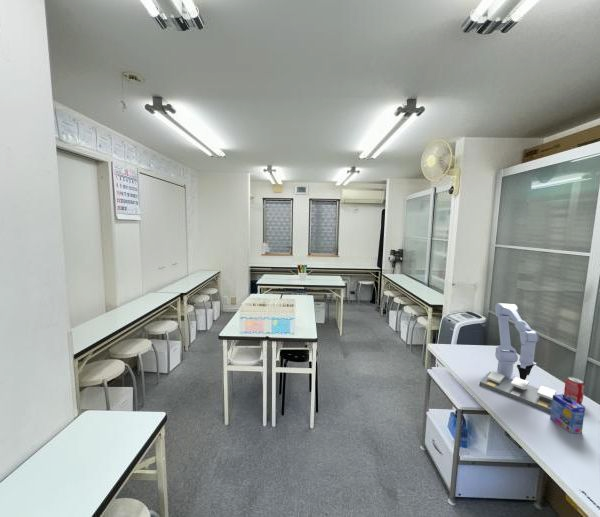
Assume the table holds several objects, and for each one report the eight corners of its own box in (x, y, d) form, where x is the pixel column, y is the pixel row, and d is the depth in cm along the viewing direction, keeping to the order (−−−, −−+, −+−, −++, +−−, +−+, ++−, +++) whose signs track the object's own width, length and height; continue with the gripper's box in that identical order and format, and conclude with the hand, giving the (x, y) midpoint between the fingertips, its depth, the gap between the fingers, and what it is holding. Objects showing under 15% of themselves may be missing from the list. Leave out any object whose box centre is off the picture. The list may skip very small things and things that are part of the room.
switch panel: (489, 374, 167) (490, 370, 167) (560, 400, 143) (561, 396, 143) (479, 384, 156) (480, 380, 156) (555, 415, 132) (555, 410, 131)
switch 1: (492, 373, 164) (492, 371, 163) (504, 377, 159) (504, 375, 159) (487, 378, 157) (487, 376, 157) (499, 383, 153) (499, 381, 152)
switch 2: (515, 378, 155) (515, 376, 155) (528, 383, 150) (529, 381, 150) (510, 384, 149) (511, 382, 148) (524, 389, 144) (524, 387, 144)
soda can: (576, 398, 145) (579, 377, 143) (585, 407, 138) (588, 384, 137) (560, 395, 147) (563, 374, 146) (567, 403, 140) (571, 381, 139)
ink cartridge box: (548, 418, 129) (552, 389, 128) (559, 417, 130) (563, 389, 128) (571, 433, 120) (575, 403, 118) (582, 433, 120) (587, 402, 118)
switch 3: (540, 387, 147) (541, 385, 147) (555, 392, 142) (556, 390, 142) (536, 394, 140) (537, 392, 140) (552, 400, 136) (552, 398, 136)
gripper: (533, 359, 139) (530, 384, 140) (540, 351, 148) (537, 375, 149) (516, 354, 144) (513, 378, 145) (523, 347, 153) (521, 370, 155)
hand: (524, 376), depth 148 cm, fingers open, 7 cm apart
